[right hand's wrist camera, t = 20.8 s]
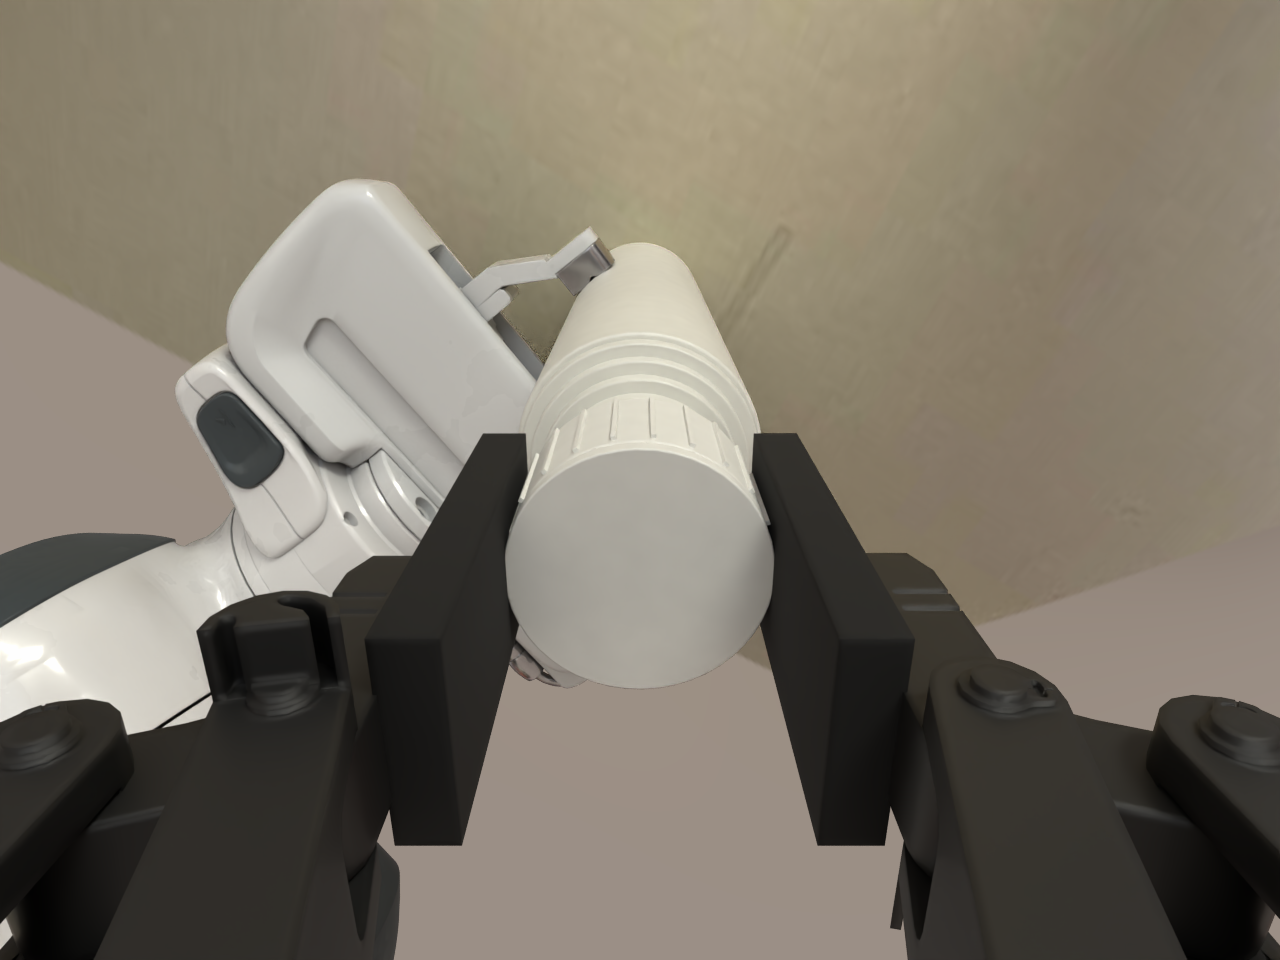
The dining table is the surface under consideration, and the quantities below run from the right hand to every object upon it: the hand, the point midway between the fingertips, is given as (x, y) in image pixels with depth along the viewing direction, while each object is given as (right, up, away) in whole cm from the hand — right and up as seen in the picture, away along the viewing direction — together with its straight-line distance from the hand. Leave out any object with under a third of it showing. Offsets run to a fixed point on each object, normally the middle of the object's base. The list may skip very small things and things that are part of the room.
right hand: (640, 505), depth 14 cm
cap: (0, 0, 0) cm, 0 cm away
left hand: (+1, +6, +14) cm, 15 cm away
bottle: (0, +8, +21) cm, 22 cm away
